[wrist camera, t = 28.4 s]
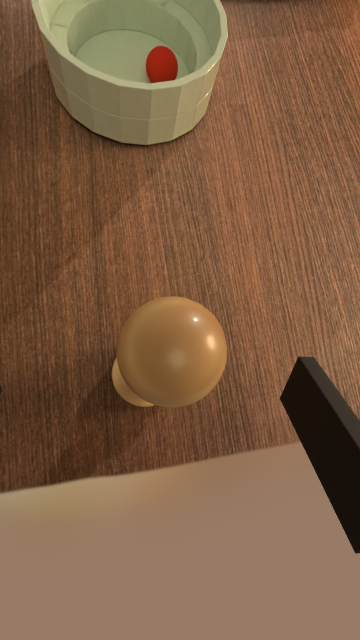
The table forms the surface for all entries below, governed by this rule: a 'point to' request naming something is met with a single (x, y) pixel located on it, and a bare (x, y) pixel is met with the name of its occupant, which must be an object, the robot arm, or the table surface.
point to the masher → (169, 354)
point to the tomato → (161, 65)
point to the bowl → (132, 63)
